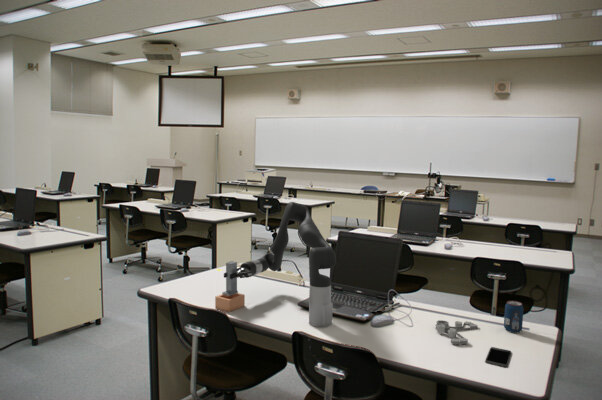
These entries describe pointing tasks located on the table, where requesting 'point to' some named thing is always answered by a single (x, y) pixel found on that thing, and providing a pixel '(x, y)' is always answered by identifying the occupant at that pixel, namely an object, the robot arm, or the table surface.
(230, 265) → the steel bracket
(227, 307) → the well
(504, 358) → the smartphone
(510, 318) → the soda can
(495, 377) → the table surface
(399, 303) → the walkie-talkie
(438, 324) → the pulley system
